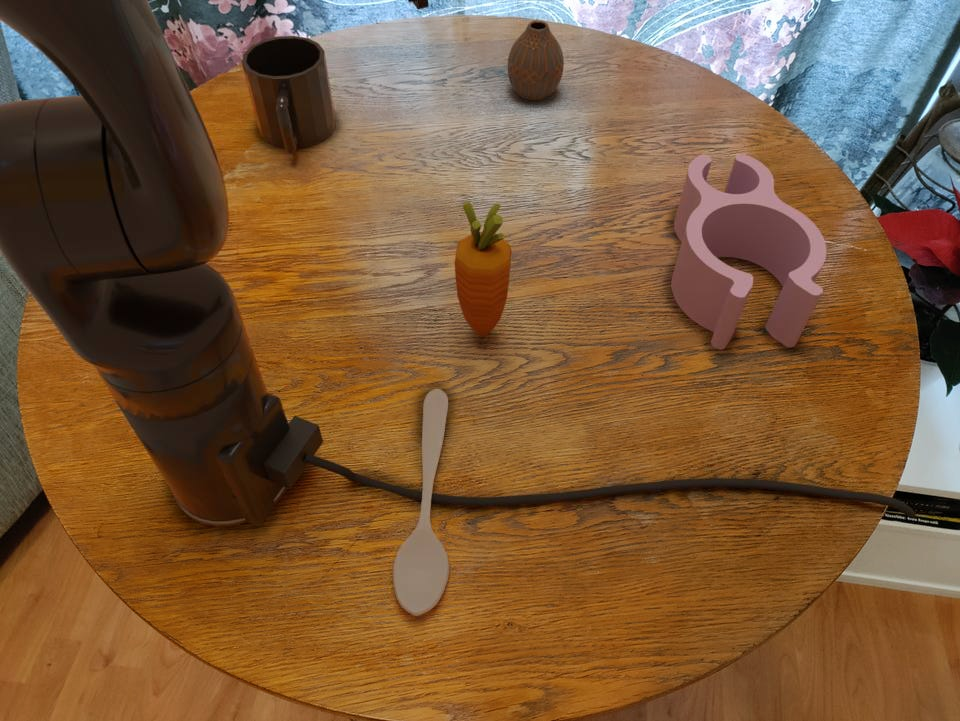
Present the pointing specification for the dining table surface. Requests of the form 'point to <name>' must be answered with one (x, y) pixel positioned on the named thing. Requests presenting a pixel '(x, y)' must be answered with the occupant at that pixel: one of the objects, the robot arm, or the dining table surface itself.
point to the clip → (743, 251)
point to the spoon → (424, 524)
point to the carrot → (483, 271)
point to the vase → (535, 62)
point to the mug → (290, 91)
